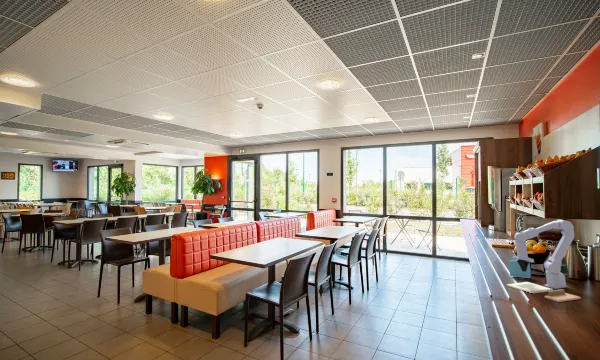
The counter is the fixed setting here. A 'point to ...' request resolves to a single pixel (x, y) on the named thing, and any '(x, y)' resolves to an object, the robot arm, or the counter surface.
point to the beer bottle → (564, 267)
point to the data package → (518, 270)
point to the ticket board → (529, 287)
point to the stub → (560, 296)
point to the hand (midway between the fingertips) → (524, 271)
